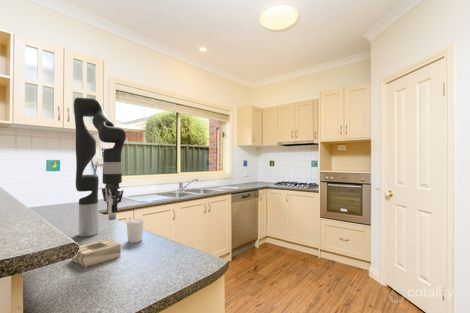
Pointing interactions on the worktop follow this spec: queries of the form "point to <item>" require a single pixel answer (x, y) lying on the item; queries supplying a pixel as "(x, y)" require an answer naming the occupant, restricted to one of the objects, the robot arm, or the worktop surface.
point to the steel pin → (110, 210)
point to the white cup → (134, 230)
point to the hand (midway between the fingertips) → (112, 211)
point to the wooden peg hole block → (97, 252)
